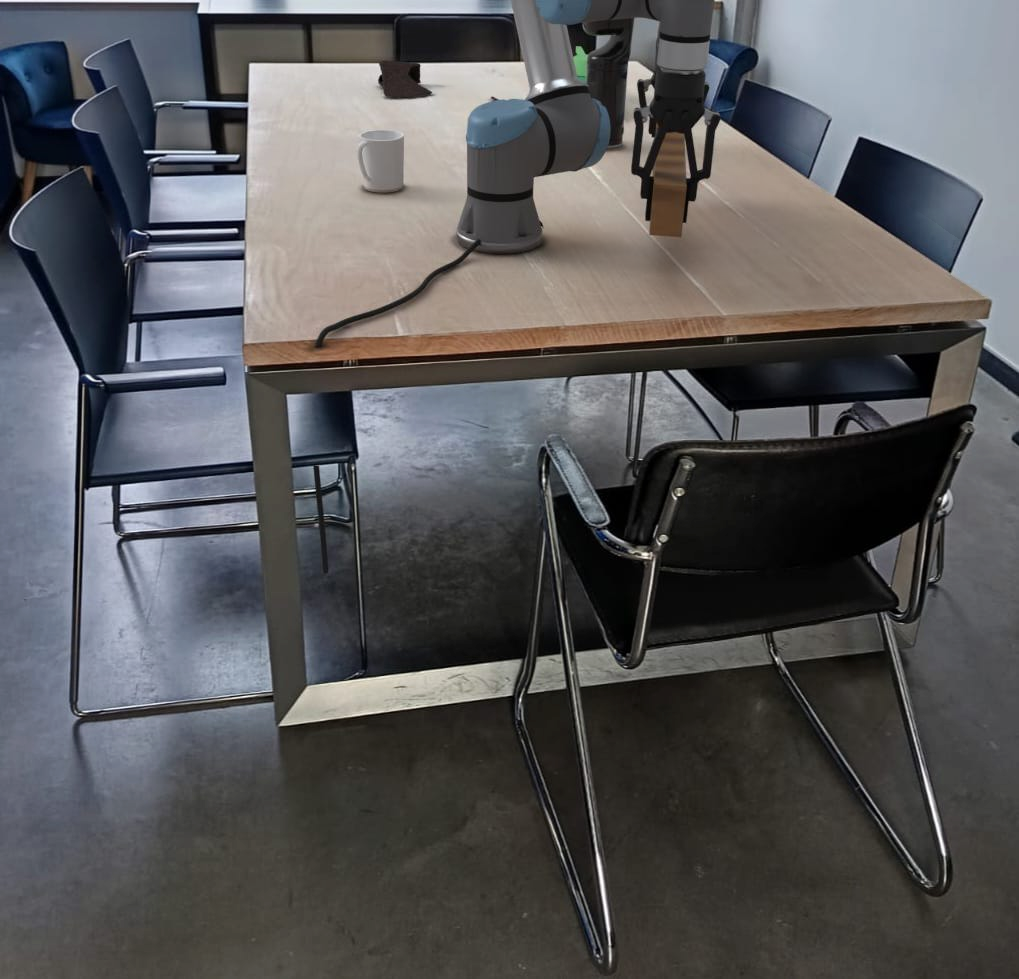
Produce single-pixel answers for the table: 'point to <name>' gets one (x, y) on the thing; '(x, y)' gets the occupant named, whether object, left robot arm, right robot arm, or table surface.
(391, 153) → the mug
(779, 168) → the table surface
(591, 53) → the right robot arm
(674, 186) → the brown wooden bar
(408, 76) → the dark brown boot
